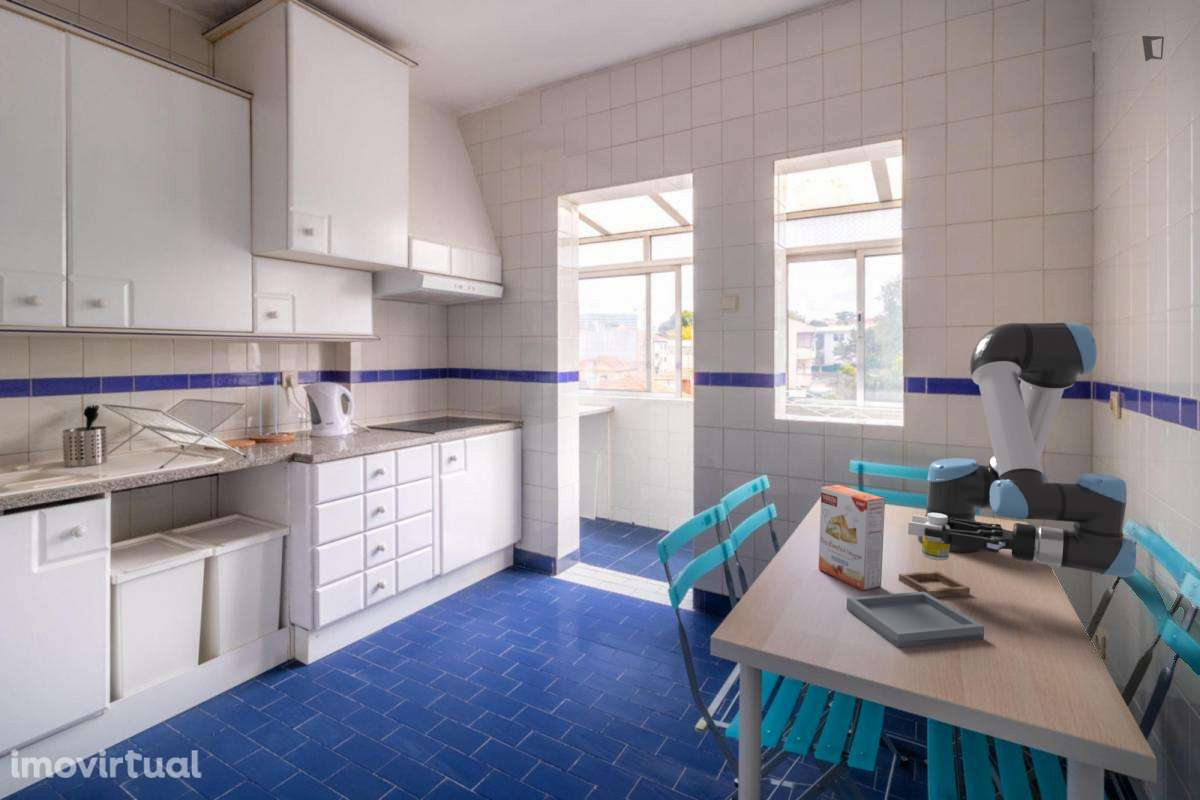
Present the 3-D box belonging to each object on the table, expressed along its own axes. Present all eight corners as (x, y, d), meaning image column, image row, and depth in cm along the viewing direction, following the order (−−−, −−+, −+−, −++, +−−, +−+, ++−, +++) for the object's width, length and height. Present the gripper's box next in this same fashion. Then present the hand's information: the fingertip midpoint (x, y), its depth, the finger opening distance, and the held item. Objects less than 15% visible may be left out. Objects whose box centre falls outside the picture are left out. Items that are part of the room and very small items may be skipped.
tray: (923, 602, 128) (924, 591, 128) (983, 638, 112) (984, 626, 112) (846, 609, 125) (846, 597, 125) (897, 647, 109) (898, 634, 109)
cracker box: (816, 570, 147) (819, 485, 145) (835, 566, 149) (838, 483, 147) (862, 591, 134) (866, 499, 132) (882, 587, 136) (886, 497, 134)
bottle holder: (936, 577, 142) (936, 571, 142) (969, 594, 132) (969, 587, 132) (898, 580, 140) (899, 573, 140) (929, 597, 131) (929, 591, 130)
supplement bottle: (946, 562, 132) (948, 520, 131) (919, 557, 135) (921, 515, 134) (950, 555, 136) (953, 514, 135) (924, 550, 139) (926, 510, 138)
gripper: (1035, 576, 117) (903, 551, 131) (1033, 548, 132) (915, 529, 146) (1037, 538, 117) (905, 518, 130) (1035, 515, 132) (917, 499, 145)
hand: (910, 524), depth 138 cm, fingers closed on supplement bottle, 5 cm apart
